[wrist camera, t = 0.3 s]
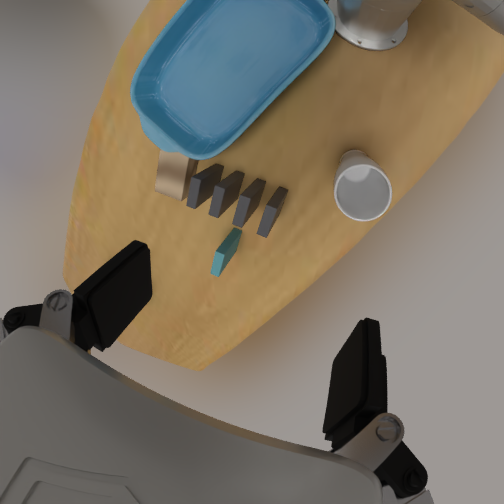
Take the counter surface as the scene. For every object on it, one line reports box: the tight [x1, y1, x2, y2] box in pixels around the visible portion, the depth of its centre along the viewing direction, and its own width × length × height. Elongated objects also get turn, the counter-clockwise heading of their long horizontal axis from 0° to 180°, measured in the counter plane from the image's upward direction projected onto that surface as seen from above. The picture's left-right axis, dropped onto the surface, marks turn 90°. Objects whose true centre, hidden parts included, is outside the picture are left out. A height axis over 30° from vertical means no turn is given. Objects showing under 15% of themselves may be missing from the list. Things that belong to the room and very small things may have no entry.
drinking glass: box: [334, 150, 392, 221], centre depth 33 cm, size 7×7×15 cm
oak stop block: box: [155, 149, 198, 201], centre depth 47 cm, size 10×6×4 cm, turn 164°
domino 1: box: [186, 164, 224, 209], centre depth 44 cm, size 2×5×9 cm, turn 164°
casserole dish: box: [130, 0, 336, 160], centre depth 33 cm, size 37×22×7 cm, turn 138°
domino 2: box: [209, 171, 245, 218], centre depth 44 cm, size 2×5×9 cm, turn 164°
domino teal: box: [211, 228, 242, 277], centre depth 50 cm, size 2×5×9 cm, turn 164°
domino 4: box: [257, 186, 288, 238], centre depth 43 cm, size 2×5×9 cm, turn 163°
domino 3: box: [232, 178, 266, 228], centre depth 43 cm, size 2×5×9 cm, turn 164°
